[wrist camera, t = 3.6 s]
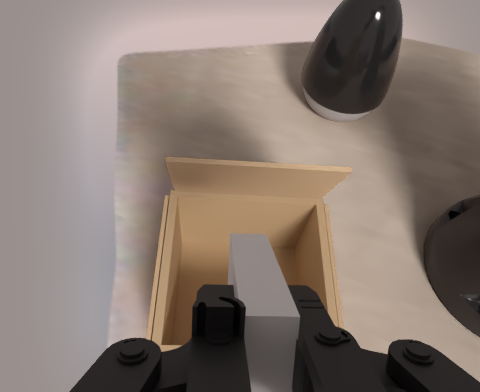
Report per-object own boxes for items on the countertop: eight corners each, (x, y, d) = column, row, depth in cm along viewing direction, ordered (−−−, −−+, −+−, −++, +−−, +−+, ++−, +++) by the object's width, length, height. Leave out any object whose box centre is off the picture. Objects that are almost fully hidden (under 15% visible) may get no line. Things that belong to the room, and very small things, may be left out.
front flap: (319, 199, 30) (319, 195, 30) (351, 172, 24) (351, 167, 24) (174, 191, 30) (175, 187, 30) (164, 161, 23) (165, 156, 23)
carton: (302, 245, 39) (327, 198, 31) (314, 384, 32) (349, 366, 24) (172, 240, 38) (165, 189, 30) (156, 380, 31) (142, 361, 24)
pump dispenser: (362, 76, 53) (414, -41, 40) (383, 134, 47) (451, 22, 35) (288, 75, 52) (318, -45, 39) (302, 135, 46) (341, 19, 33)
